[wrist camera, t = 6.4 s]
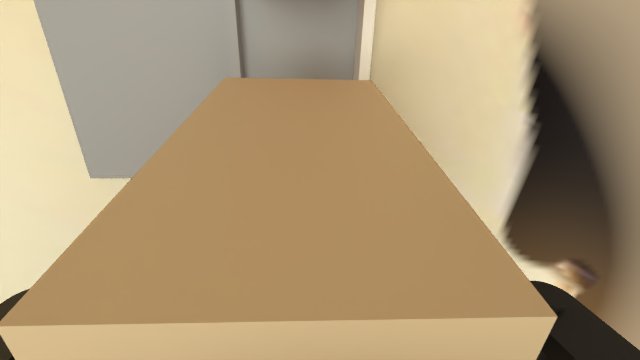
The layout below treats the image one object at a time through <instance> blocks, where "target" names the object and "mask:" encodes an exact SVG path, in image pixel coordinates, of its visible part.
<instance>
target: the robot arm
mask: <svg viewBox="0 0 640 360" xmlns="http://www.w3.org/2000/svg"><path fill="white" fill-rule="evenodd" d="M530 282H531V283H532V285H533V286H534V287H535V288H536V290H537V291H538V292H539V294H540V295H541V296H542V297H543V299H544V300H545V301H546V302H547V304H548V305H549V306H550V307H551V309H552V310H553V311H554V313H555V314H556V315H557V316H558V317H557V319H556V321H555V323H554V325H553V327H552V329H551V331H550V333H549V335H548V337H547V339H546V341H545V343H544V345H543V347H542V349H541V351H540V353H539V355H538V357H537V359H536V360H640V350H638V349H637V348H636V347H635V346H633V345H632V344H631V343H630V342H628V341H627V340H626V339H625V338H623V337H622V336H621V335H620V334H618V333H617V332H616V331H615V330H613V329H612V328H611V327H610V326H609V325H607V324H606V323H605V322H603V321H602V320H601V319H600V318H599V317H597V316H596V315H595V314H594V313H592V312H591V311H590V310H588V309H587V308H586V307H585V306H584V305H582V304H581V303H580V302H579V301H577V300H576V299H575V298H574V297H573V296H571V295H570V294H568V293H567V292H565V291H564V290H562V289H560V288H558V287H556V286H553V285H551V284H548V283H544V282H540V281H530ZM28 291H29V289H28V290H25V291H22V292H20V293H18V294H16V295H14V296H12V297H10V298H9V299H7V300H5V301H4V302H3V303H1V304H0V321H1V320H2V319H3V318H4V317H5V315H6V314H7V313H8V312H9V311H10V310H11V309H12V308H13V307H14V306H15V305H16V304H17V302H18V301H19V300H20V299H21V298H22V297H23V296H24V295H25V294H26V293H27V292H28ZM0 360H15V358H14V357H13V355H12V353H11V352H10V350H9V348H8V347H7V345H6V343H5V342H4V340H3V338H2V337H1V335H0Z"/></svg>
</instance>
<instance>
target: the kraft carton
mask: <svg viewBox="0 0 640 360" xmlns="http://www.w3.org/2000/svg"><path fill="white" fill-rule="evenodd" d="M557 317H558V316H557V315H556V314H555V313H554V311H553V310H552V309H551V307H550V306H549V305H548V304H547V302H546V301H545V300H544V299H543V297H542V296H541V295H540V294H539V292H538V291H537V290H536V288H535V287H534V286H533V285H532V283H531V282H530V281H529V280H528V278H527V277H526V276H525V275H524V273H523V272H522V271H521V269H520V268H519V267H518V266H517V264H516V263H515V262H514V261H513V259H512V258H511V257H510V256H509V254H508V253H507V252H506V250H505V249H504V248H503V247H502V245H501V244H500V243H499V242H498V240H497V239H496V238H495V237H494V235H493V234H492V233H491V231H490V230H489V229H488V228H487V226H486V225H485V224H484V223H483V221H482V220H481V219H480V218H479V216H478V215H477V214H476V212H475V211H474V210H473V209H472V207H471V206H470V205H469V204H468V202H467V201H466V200H465V199H464V197H463V196H462V195H461V193H460V192H459V191H458V190H457V188H456V187H455V186H454V185H453V183H452V182H451V181H450V180H449V178H448V177H447V176H446V174H445V173H444V172H443V171H442V169H441V168H440V167H439V166H438V164H437V163H436V162H435V161H434V159H433V158H432V157H431V155H430V154H429V153H428V152H427V150H426V149H425V148H424V147H423V145H422V144H421V143H420V142H419V140H418V139H417V138H416V136H415V135H414V134H413V133H412V131H411V130H410V129H409V128H408V126H407V125H406V124H405V123H404V121H403V120H402V119H401V117H400V116H399V115H398V114H397V112H396V111H395V110H394V109H393V107H392V106H391V105H390V103H389V102H388V101H387V100H386V98H385V97H384V96H383V95H382V93H381V92H380V91H379V90H378V88H377V87H376V86H375V84H374V83H373V82H372V81H371V80H330V79H277V78H224V79H223V80H222V81H221V82H220V83H219V84H218V85H217V86H216V88H215V89H214V90H213V91H212V92H211V93H210V94H209V95H208V96H207V97H206V98H205V100H204V101H203V102H202V103H201V104H200V105H199V106H198V107H197V108H196V109H195V110H194V111H193V113H192V114H191V115H190V116H189V117H188V118H187V119H186V120H185V121H184V122H183V123H182V124H181V126H180V127H179V128H178V129H177V130H176V131H175V132H174V133H173V134H172V135H171V136H170V137H169V139H168V140H167V141H166V142H165V143H164V144H163V145H162V146H161V147H160V148H159V149H158V151H157V152H156V153H155V154H154V155H153V156H152V157H151V158H150V159H149V160H148V161H147V162H146V164H145V165H144V166H143V167H142V168H141V169H140V170H139V171H138V172H137V173H136V174H135V175H134V177H133V178H132V179H131V180H130V181H129V182H128V183H127V184H126V185H125V186H124V187H123V189H122V190H121V191H120V192H119V193H118V194H117V195H116V196H115V197H114V198H113V199H112V200H111V202H110V203H109V204H108V205H107V206H106V207H105V208H104V209H103V210H102V211H101V212H100V213H99V215H98V216H97V217H96V218H95V219H94V220H93V221H92V222H91V223H90V224H89V225H88V226H87V228H86V229H85V230H84V231H83V232H82V233H81V234H80V235H79V236H78V237H77V238H76V240H75V241H74V242H73V243H72V244H71V245H70V246H69V247H68V248H67V249H66V250H65V251H64V253H63V254H62V255H61V256H60V257H59V258H58V259H57V260H56V261H55V262H54V263H53V264H52V266H51V267H50V268H49V269H48V270H47V271H46V272H45V273H44V274H43V275H42V276H41V277H40V279H39V280H38V281H37V282H36V283H35V284H34V285H33V286H32V287H31V288H30V289H29V291H28V292H27V293H26V294H25V295H24V296H23V297H22V298H21V299H20V300H19V301H18V302H17V304H16V305H15V306H14V307H13V308H12V309H11V310H10V311H9V312H8V313H7V314H6V315H5V317H4V318H3V319H2V320H1V321H0V335H1V337H2V338H3V340H4V342H5V343H6V345H7V347H8V348H9V350H10V352H11V353H12V355H13V357H14V358H15V360H536V359H537V357H538V355H539V353H540V351H541V349H542V347H543V345H544V343H545V341H546V339H547V337H548V335H549V333H550V331H551V329H552V327H553V325H554V323H555V321H556V319H557Z"/></svg>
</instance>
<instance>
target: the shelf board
mask: <svg viewBox="0 0 640 360" xmlns="http://www.w3.org/2000/svg"><path fill="white" fill-rule="evenodd" d="M376 1H377V0H34V3H35V6H36V9H37V12H38V16H39V19H40V22H41V25H42V28H43V31H44V34H45V37H46V41H47V44H48V47H49V50H50V53H51V56H52V59H53V62H54V66H55V69H56V72H57V75H58V78H59V81H60V84H61V88H62V91H63V94H64V97H65V100H66V103H67V106H68V109H69V113H70V116H71V119H72V122H73V125H74V128H75V131H76V135H77V138H78V141H79V144H80V147H81V150H82V153H83V156H84V160H85V163H86V166H87V169H88V172H89V175H90V178H133V177H134V175H135V174H136V173H137V172H138V171H139V170H140V169H141V168H142V167H143V166H144V165H145V164H146V162H147V161H148V160H149V159H150V158H151V157H152V156H153V155H154V154H155V153H156V152H157V151H158V149H159V148H160V147H161V146H162V145H163V144H164V143H165V142H166V141H167V140H168V139H169V137H170V136H171V135H172V134H173V133H174V132H175V131H176V130H177V129H178V128H179V127H180V126H181V124H182V123H183V122H184V121H185V120H186V119H187V118H188V117H189V116H190V115H191V114H192V113H193V111H194V110H195V109H196V108H197V107H198V106H199V105H200V104H201V103H202V102H203V101H204V100H205V98H206V97H207V96H208V95H209V94H210V93H211V92H212V91H213V90H214V89H215V88H216V86H217V85H218V84H219V83H220V82H221V81H222V80H223V79H224V78H277V79H330V80H369V78H370V67H371V56H372V45H373V34H374V23H375V12H376Z"/></svg>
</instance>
